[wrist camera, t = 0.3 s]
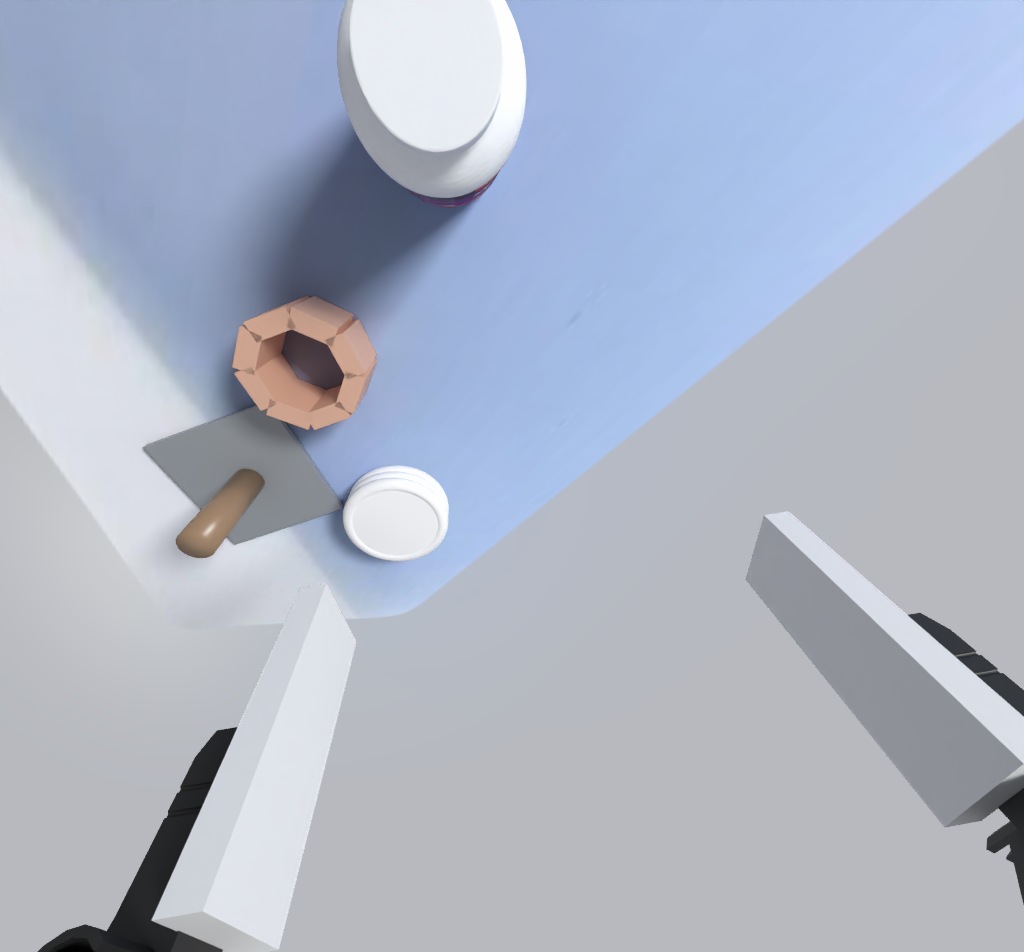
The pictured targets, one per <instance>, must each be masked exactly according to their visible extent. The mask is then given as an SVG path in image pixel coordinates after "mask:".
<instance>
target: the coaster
mask: <svg viewBox="0 0 1024 952" xmlns="http://www.w3.org/2000/svg"><path fill="white" fill-rule="evenodd" d="M448 512H449V505H448V500H447V497H446V494H445V492H444V490H443V489H442V487H441V486H440V484H439V483H438V482H437V481H436V480H435V479H434V478H432V477H431V476H430V475H428V474H427V473H425V472H423V471H421V470H418V469H416V468H412V467H408V466H401V465H391V466H384V467H380V468H377V469H374V470H372V471H370V472H368V473H366V474H365V475H363V476H362V477H361V478H360V479H359V480H358V481H357V482H356V483H355V484H354V486H353V487H352V489H351V492H350V494H349V496H348V499H347V502H346V504H345V506H344V510H343V524H344V528H345V531H346V533H347V535H348V537H349V538H350V539H351V541H352V542H353V543H354V544H355V545H356V546H357V547H358V548H359V549H361V550H362V551H364V552H365V553H367V554H369V555H371V556H373V557H376V558H379V559H383V560H389V561H408V560H413V559H417V558H420V557H422V556H425V555H427V554H428V553H430V552H432V551H433V550H434V549H436V548H437V547H438V546H439V544H440V543H441V542H442V540H443V538H444V536H445V535H446V532H447V528H448Z"/></svg>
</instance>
